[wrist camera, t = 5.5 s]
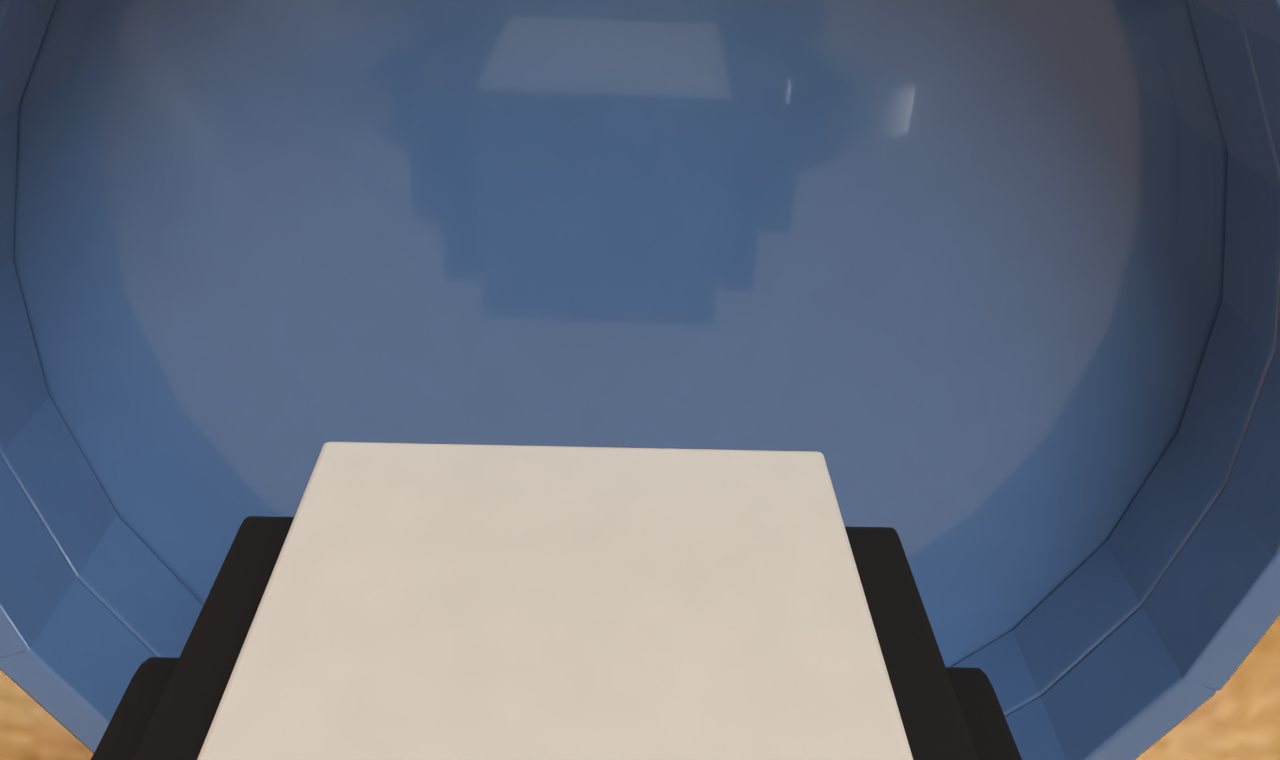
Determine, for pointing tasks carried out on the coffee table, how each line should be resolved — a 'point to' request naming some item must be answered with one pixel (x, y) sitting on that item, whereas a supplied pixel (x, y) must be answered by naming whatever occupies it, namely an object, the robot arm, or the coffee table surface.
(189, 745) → the robot arm
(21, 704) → the coffee table surface
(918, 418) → the bowl
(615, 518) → the block
